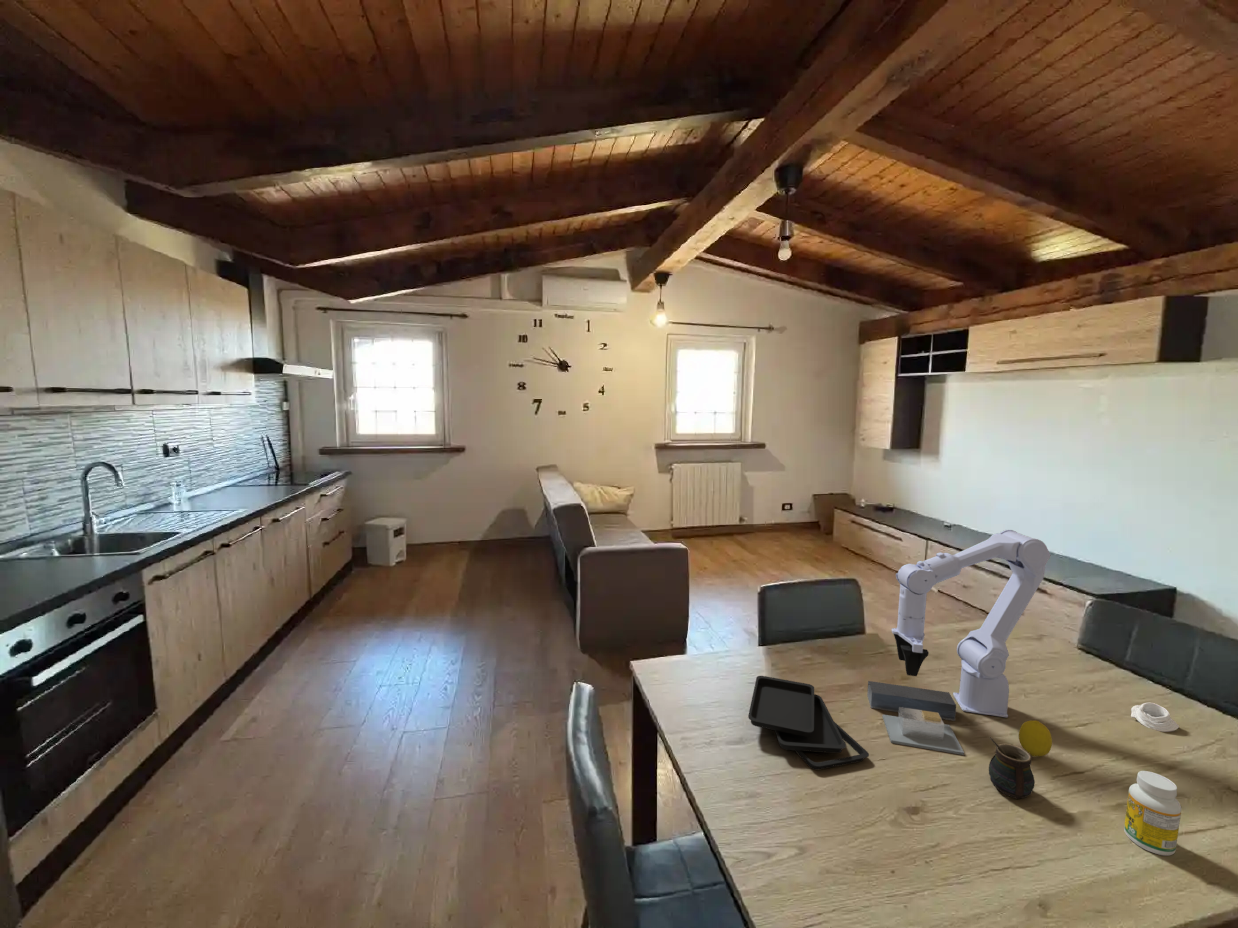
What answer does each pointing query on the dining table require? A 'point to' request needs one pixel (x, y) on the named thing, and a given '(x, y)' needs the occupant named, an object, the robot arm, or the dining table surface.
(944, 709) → the body
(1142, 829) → the supplement bottle
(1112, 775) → the dining table surface
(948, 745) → the mat
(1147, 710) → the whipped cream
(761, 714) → the stack of dark trays
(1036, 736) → the lemon
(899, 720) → the pale grey block
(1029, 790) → the mate gourd
